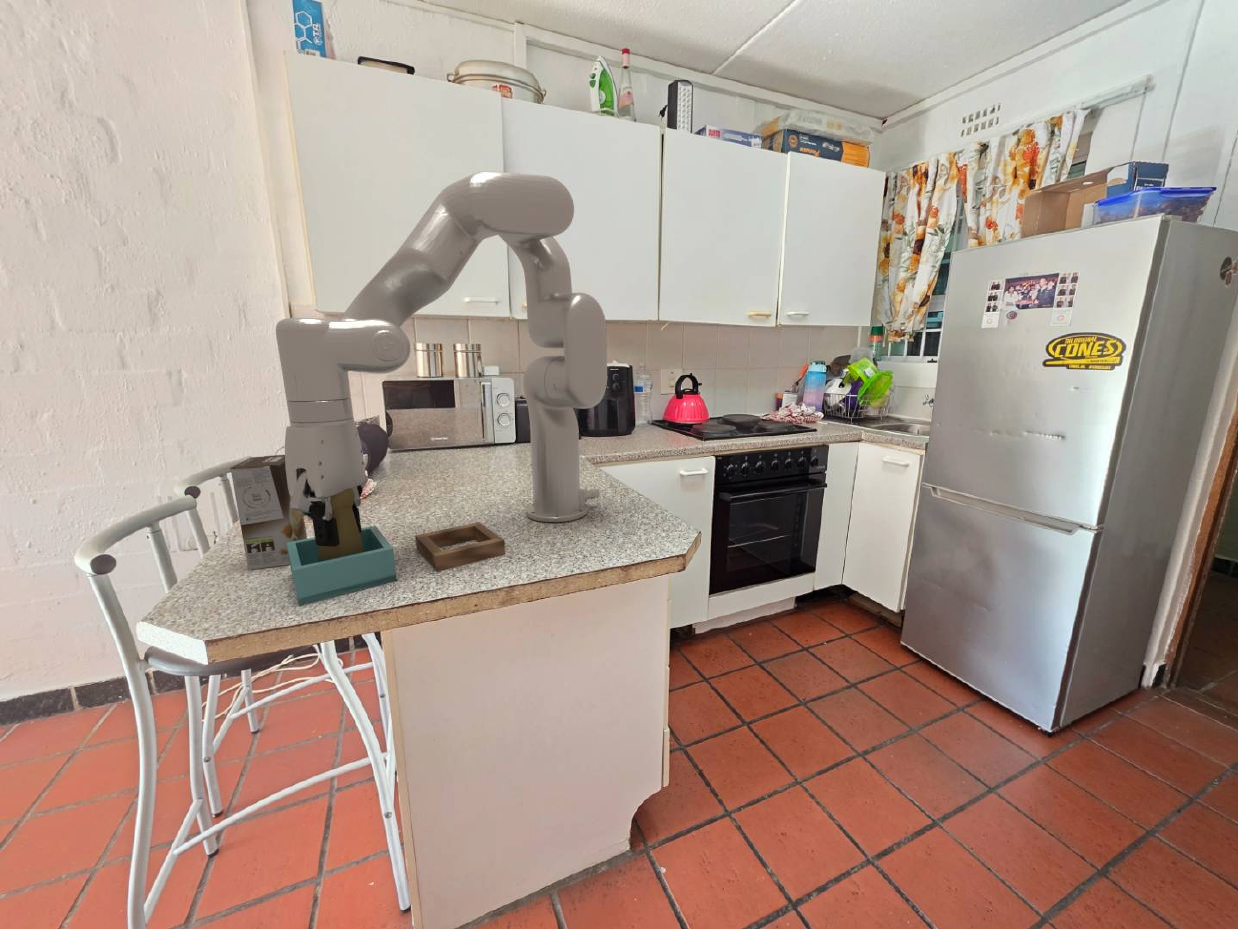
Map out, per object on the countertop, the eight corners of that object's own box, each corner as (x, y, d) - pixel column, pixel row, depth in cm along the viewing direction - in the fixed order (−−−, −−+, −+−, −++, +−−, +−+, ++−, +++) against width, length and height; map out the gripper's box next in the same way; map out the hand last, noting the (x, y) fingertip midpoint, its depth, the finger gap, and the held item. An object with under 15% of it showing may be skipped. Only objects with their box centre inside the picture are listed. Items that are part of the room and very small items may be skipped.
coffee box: (296, 564, 76) (280, 464, 73) (247, 571, 74) (228, 468, 70) (309, 543, 84) (295, 453, 81) (265, 549, 82) (249, 456, 79)
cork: (368, 561, 70) (358, 487, 68) (319, 571, 67) (307, 494, 64) (363, 547, 75) (354, 478, 73) (317, 556, 72) (306, 485, 69)
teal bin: (379, 554, 80) (375, 525, 79) (396, 580, 70) (393, 548, 69) (291, 574, 73) (286, 542, 72) (298, 606, 63) (292, 570, 62)
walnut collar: (479, 535, 88) (478, 522, 88) (505, 554, 80) (504, 540, 79) (416, 549, 82) (415, 535, 81) (436, 572, 73) (435, 556, 73)
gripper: (339, 406, 75) (354, 519, 79) (242, 420, 59) (268, 561, 63) (384, 406, 74) (397, 520, 78) (298, 421, 58) (320, 564, 62)
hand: (339, 537), depth 70 cm, fingers closed on cork, 4 cm apart
